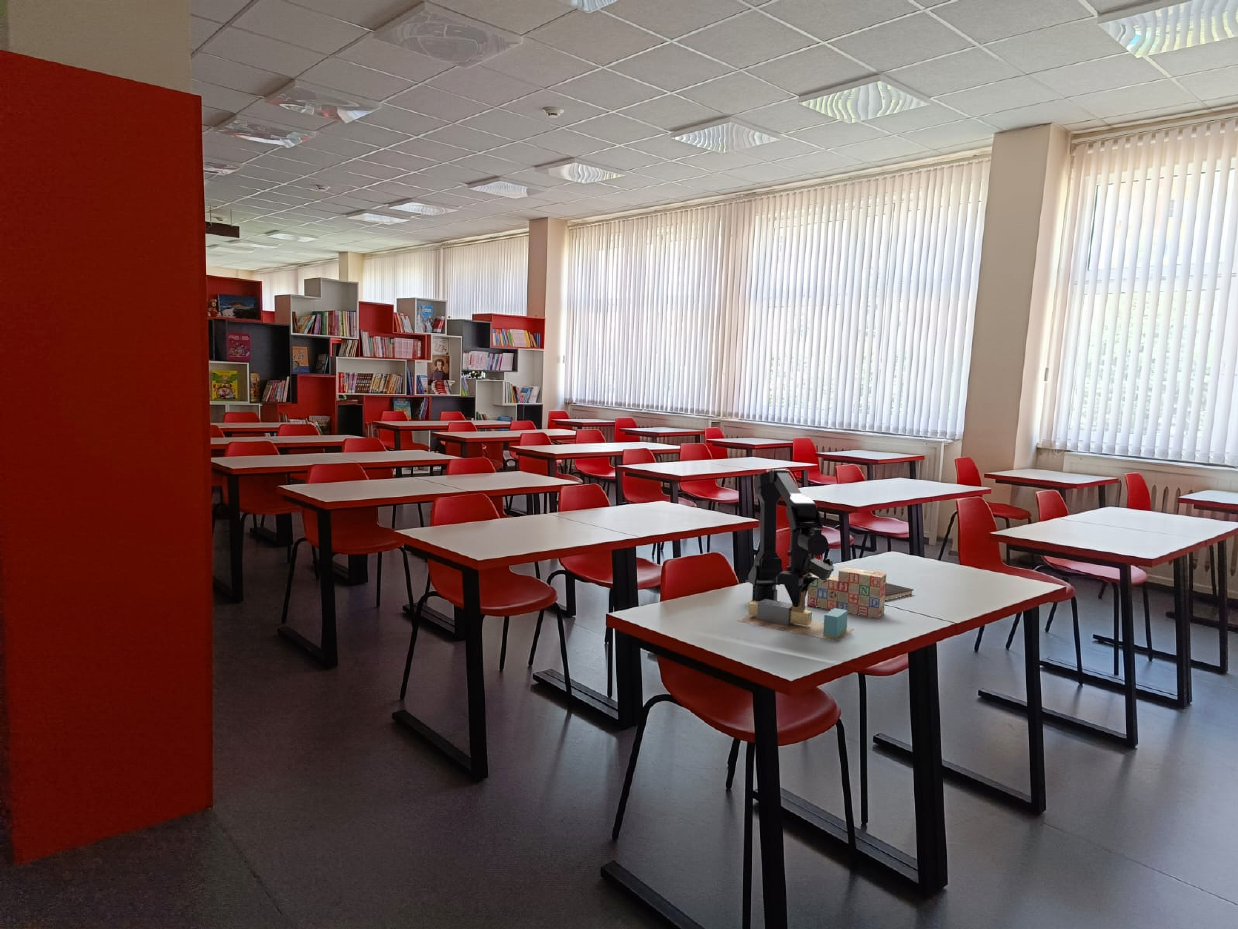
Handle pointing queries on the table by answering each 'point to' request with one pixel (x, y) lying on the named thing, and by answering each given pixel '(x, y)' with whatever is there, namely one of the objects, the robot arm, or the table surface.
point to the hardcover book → (896, 591)
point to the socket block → (835, 622)
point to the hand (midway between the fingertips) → (798, 605)
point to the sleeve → (774, 612)
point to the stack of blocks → (850, 592)
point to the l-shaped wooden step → (791, 611)
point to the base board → (797, 628)
